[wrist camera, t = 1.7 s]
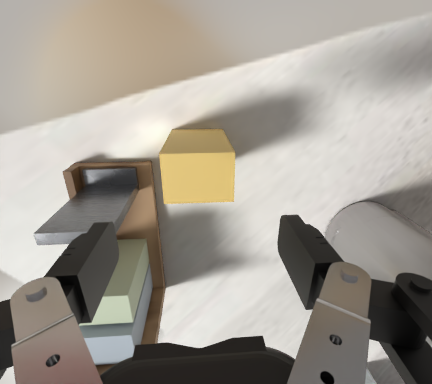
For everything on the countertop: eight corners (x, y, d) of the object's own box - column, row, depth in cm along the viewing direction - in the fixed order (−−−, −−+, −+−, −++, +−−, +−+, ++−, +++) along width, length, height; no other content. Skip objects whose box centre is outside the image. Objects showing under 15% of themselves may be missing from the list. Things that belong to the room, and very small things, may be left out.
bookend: (136, 167, 27) (105, 210, 18) (139, 190, 28) (112, 241, 19) (84, 168, 27) (25, 213, 18) (89, 191, 28) (37, 245, 19)
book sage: (146, 238, 31) (127, 295, 23) (149, 261, 32) (133, 322, 24) (100, 240, 30) (65, 298, 22) (105, 263, 32) (74, 325, 24)
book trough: (151, 161, 28) (118, 219, 16) (165, 288, 36) (150, 390, 24) (74, 162, 28) (-18, 224, 16) (105, 291, 35) (59, 397, 23)
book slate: (149, 263, 32) (131, 335, 23) (152, 287, 34) (136, 362, 25) (106, 265, 32) (70, 339, 23) (111, 289, 34) (80, 366, 25)
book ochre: (222, 128, 27) (235, 152, 18) (222, 163, 29) (233, 201, 20) (171, 129, 27) (159, 153, 18) (174, 164, 29) (163, 203, 19)
